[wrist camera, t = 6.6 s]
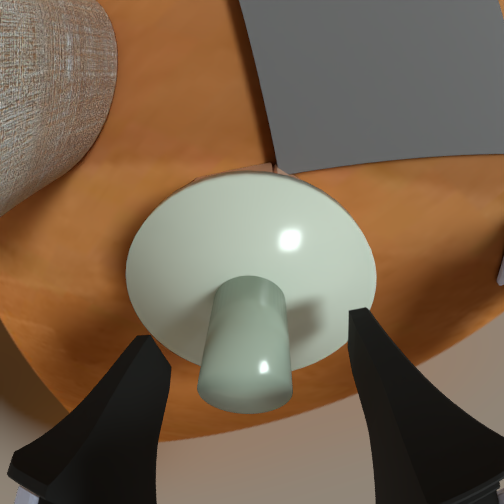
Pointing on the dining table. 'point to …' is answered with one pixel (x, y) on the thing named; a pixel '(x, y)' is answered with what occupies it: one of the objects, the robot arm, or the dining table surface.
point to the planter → (51, 89)
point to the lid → (249, 282)
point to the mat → (378, 78)
